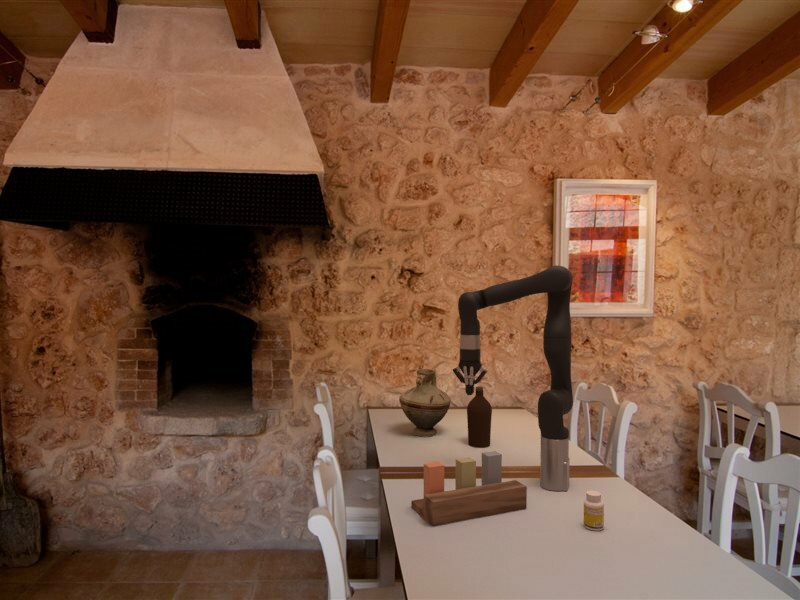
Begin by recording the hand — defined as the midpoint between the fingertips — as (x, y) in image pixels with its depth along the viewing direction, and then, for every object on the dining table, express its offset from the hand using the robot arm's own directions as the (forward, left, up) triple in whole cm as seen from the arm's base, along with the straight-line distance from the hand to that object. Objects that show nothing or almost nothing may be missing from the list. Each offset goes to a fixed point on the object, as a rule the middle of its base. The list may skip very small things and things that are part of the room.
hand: (469, 394), depth 200 cm
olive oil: (+7, -38, -29) cm, 48 cm away
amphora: (+35, -45, -29) cm, 64 cm away
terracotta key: (0, +36, -27) cm, 45 cm away
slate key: (-13, +18, -27) cm, 35 cm away
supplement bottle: (-45, +28, -29) cm, 61 cm away
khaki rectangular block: (-7, +28, -27) cm, 39 cm away
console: (-9, +30, -29) cm, 42 cm away
